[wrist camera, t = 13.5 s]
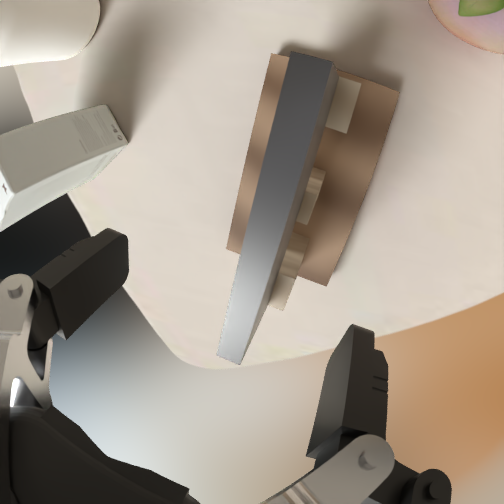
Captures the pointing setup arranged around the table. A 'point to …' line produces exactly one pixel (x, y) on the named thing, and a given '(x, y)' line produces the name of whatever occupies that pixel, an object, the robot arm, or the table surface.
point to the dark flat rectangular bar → (278, 195)
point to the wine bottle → (45, 29)
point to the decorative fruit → (473, 21)
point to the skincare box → (54, 158)
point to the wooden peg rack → (319, 175)
